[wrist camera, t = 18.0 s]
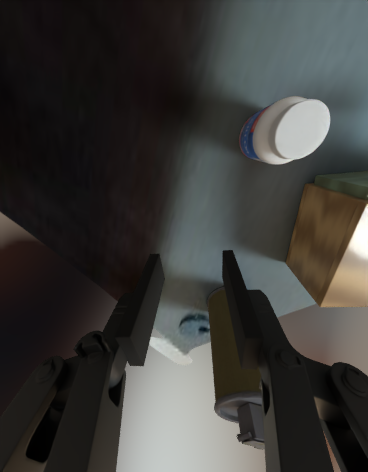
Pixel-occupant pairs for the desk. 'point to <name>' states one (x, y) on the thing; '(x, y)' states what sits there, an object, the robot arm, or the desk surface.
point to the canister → (234, 376)
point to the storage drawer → (346, 183)
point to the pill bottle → (285, 130)
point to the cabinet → (331, 247)
